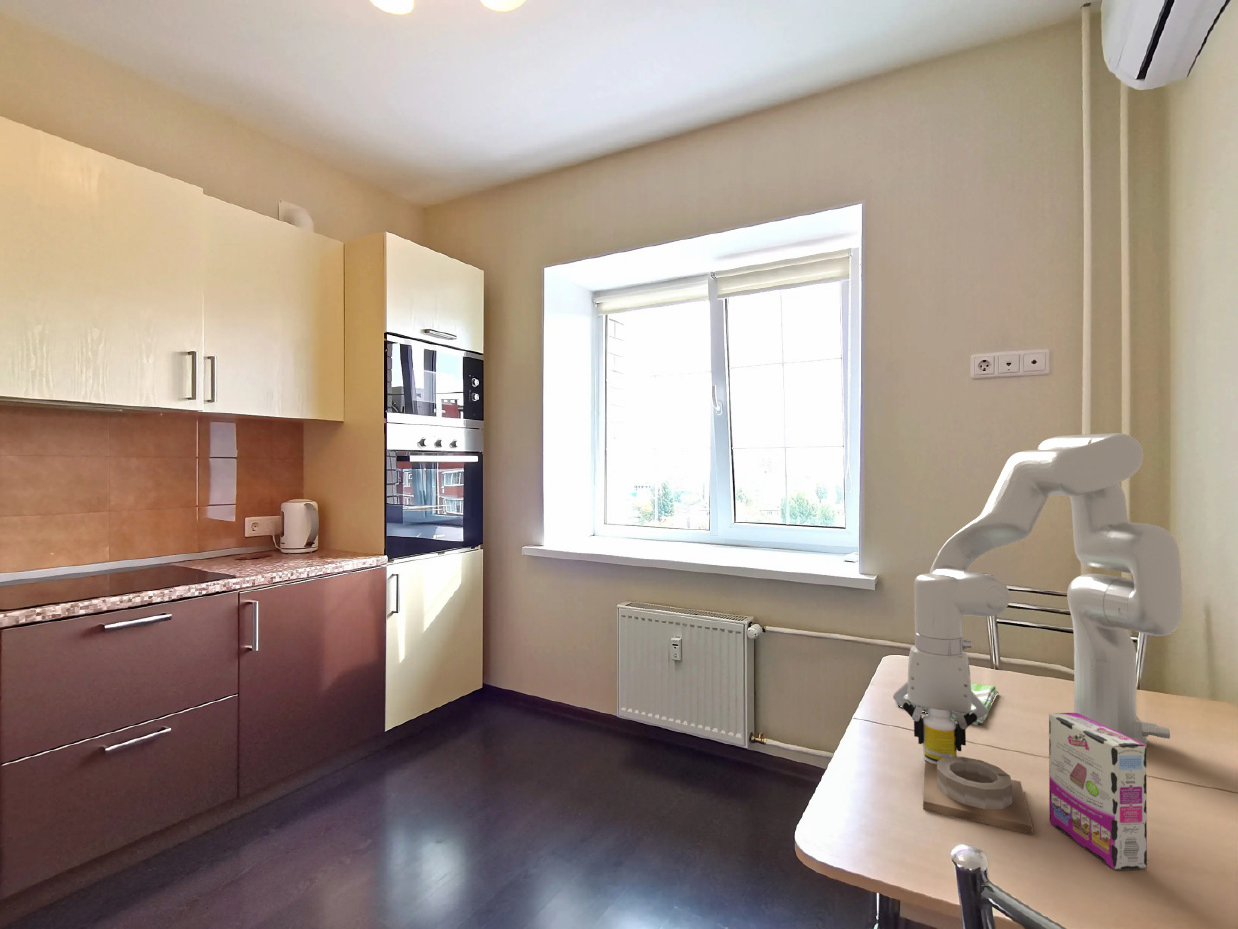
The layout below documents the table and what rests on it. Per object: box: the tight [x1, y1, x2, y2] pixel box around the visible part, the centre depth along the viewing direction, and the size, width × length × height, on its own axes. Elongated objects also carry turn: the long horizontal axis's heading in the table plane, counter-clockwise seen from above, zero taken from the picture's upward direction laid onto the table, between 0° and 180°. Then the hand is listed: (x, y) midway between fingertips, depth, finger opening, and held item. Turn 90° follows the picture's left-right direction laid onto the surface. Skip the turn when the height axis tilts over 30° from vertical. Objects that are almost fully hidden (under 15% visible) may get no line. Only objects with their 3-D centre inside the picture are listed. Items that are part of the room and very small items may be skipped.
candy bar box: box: [1048, 712, 1148, 871], centre depth 84 cm, size 11×5×16 cm, turn 5°
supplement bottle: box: [922, 708, 958, 764], centre depth 108 cm, size 5×5×10 cm
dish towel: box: [894, 682, 999, 727], centre depth 137 cm, size 17×23×4 cm
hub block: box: [922, 756, 1033, 835], centre depth 96 cm, size 14×14×4 cm
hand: (939, 743), depth 108 cm, fingers closed on supplement bottle, 5 cm apart
